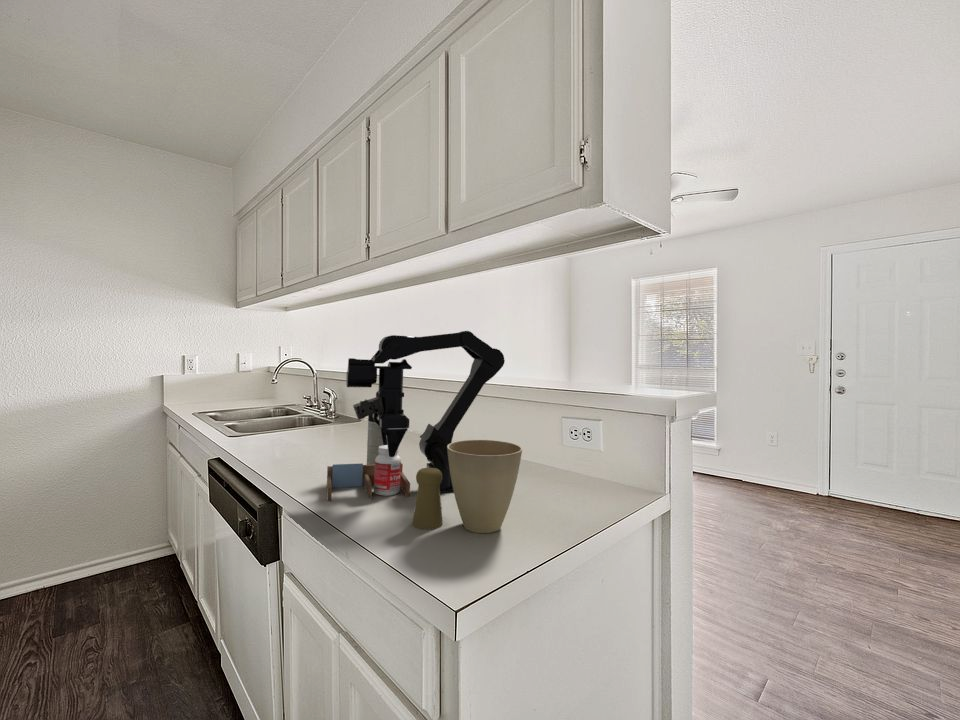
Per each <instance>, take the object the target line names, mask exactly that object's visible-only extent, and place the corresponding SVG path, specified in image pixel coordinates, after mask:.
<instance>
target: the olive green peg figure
mask: <svg viewBox="0 0 960 720" xmlns="http://www.w3.org/2000/svg"><path fill="white" fill-rule="evenodd" d="M415 480H416V484H417V487H418V488H417V492H416V493H417V494H416V500H415V505H414V511H413V515H412V516H413V518H412V522H411V523H412V526H413V527H414V528H417V529H418V530H419V529H420V530H435V529H439V528H441V527H442V526H443V511H442V502H441V500H442V499H441V492H440V488H439V485H440V484H441V482H442V473H441V471H440V470H439V469H436V468H427V467H424V468H420V469H418V471H417V473H416V475H415Z"/></svg>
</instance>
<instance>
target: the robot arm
mask: <svg viewBox="0 0 960 720" xmlns="http://www.w3.org/2000/svg"><path fill="white" fill-rule="evenodd" d="M460 347H461V348H462V349H463V350H464V351H465V352H466V353H467V355H469V356H470V357H471V358H472V359H473V362H472V363H471V367H470V371H469V375H468V376H467V378H466V380H465V381H464V383H463V384H462V386H461V388H460V389H459V391H458V392H457V394H456V396H455V397H454V398H453V400H452V402H451V403H450V405H449V406H448V407H447V409H446V410H445V412H444V413H443V415H442V417H441V418H440V420H439V421H438V422H437V423H436V424H434V425H432V424H430V423H427V425H426V428H425V430H424V432H423V433H422V434H421V435H419V438H420V440H419V443H418V445H419V446H418V447H419V450H420V452H421V454H423V455H424V457H425V458H426V460H427V461H428V462H427V463H426V468H436V469H439V470H440V471H441V473H442V482H441V484H440V485H439V488H440V493H448V492H450V493H451V492H453V493H454V490H453V486H452V481H451V475H450V469H449V461H448V451H447V446H448V445H449V444H450V443H453V438H454V434H455V433H454V432H455V430H456V429H457V427H458V426H459V424H460V422H461V421H462V420H463V418H464V416H465V415H466V414H467V411H469V409H470V407H471V406H472V404H473V403H474V401H475V400H476V397H477V396H478V395H479V393H480V392H481V390H482V388H483V387H484V385H485V384H486V383H487V382H489V381H490V380H491V379H492V378H493V377H495V375H497V373H498V372H500V370H501V369H502V368H503V367H504V365H505V356H504V354H503V352H502V351H501V349H498V348H493V347H492V346H490V345H489V344H488V343H487V342H485V341H484V340H482V339H480V338H479V337H478V336H476V335H475V334H474V333H473V332H471V331H470V330H462V331H459V332H453V333H452V332H451V333H443V334H437V335H436V334H435V335H426V336H425V335H424V336H409V335H394V334H392V335H391V334H390V335H387V336H384V337H383V338H381V340H380V341H379V344H378V350H377V351H376V352H375V354H374V355H372V357H371V359H363V358H362V359H361V358H360V359H358V358H354V357H353V358H348V362H347V371H346V374H345V375H346V376H345V377H346V378H345V379H346V384H345V385H346V388H372V386H373V385H374V384H377V381H378V390H377V391H376V392H375V397H372V398H370V399H364V400H360V401H359V402H358V403H355V404H353V405H352V407H353V410H354V412H355V416H356V418H357V420H363V419H365V418H366V417H368V416H369V415H372V414H373V418H376V417H377V419H373V420H374V421H375V422H376V423H377V424H378V425H379V426H380V431H381V436H382V441H383V445H388V452H389V457H394V456H395V453H396V451H397V449H398V450H399V446H400V444H401V443H402V440H403V438H404V437H405V435H406V433H407V431H408V430H409V428H410V418H409V417H408V416H407V415H405V414H404V412H405V410H404V409H403V398H404V397H405V392H404V391H403V390H404V370H412V368H413V366H412V365H411V364H409V363H408V361H407V359H406V358H405V357H408V356H411V355H412V356H413V355H415V354H417V353H420V352H426V351H427V352H428V351H429V352H430V351H435V350H445V349H452V348H460ZM402 358H403V359H402ZM404 358H405V359H404ZM399 359H402V360H401V361H390V360H399ZM388 361H389V362H388ZM386 362H388V363H387V365H384V364H385V363H386ZM376 364H383V365H376Z"/></svg>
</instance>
